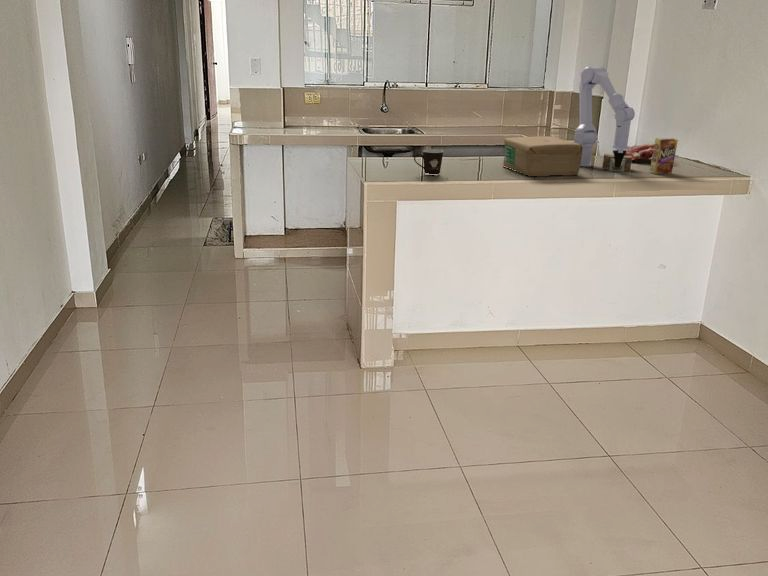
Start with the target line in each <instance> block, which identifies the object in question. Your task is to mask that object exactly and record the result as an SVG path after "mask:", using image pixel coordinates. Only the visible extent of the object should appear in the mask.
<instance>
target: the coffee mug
mask: <svg viewBox="0 0 768 576" xmlns="http://www.w3.org/2000/svg"><path fill="white" fill-rule="evenodd" d="M443 155H444V151H443V150H441V149H440V150H439V149H423V150H422V153H418V154H415V155H414V157H413V161H414V162H415V163H416V165H418V166H419V167H421V168H422V169H423V170H424V171H423V172H425V173H429V174H439V173H440V174H441V168H442V162H443ZM417 156H420V157H421V158H422V160H423V165H421V164H420V163H418V161H417V160H416V158H417ZM425 173H424V174H425Z"/></svg>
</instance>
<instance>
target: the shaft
mask: <svg viewBox="0 0 768 576" xmlns="http://www.w3.org/2000/svg"><path fill="white" fill-rule="evenodd" d="M622 167H623V162H622V163H621V166H620V167H615V160H613V162H612V168H613V169H614V170H620V169H622Z"/></svg>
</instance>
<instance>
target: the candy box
mask: <svg viewBox="0 0 768 576" xmlns="http://www.w3.org/2000/svg"><path fill="white" fill-rule="evenodd" d="M678 142H679V140H678V139H677V138H673V137H670V138H655V141H654V143H655V144H654V150H653V155H652V157H651V160H650V167H649V173H651V174H652V175H660V174H661V175H666V174H667V175H669V174H670V175H671V174H673V169H674V162H675V157H676V153H677V147H678Z"/></svg>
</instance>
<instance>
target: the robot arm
mask: <svg viewBox="0 0 768 576" xmlns="http://www.w3.org/2000/svg"><path fill="white" fill-rule="evenodd" d="M597 85H599V86H600V87H601V89H602V90H603V91H604V92H605V95H607V97H608V104H609V105H610V106H611V108H612V110H613V112H614V113H615V114H614V119H615V132H614V133H615V134H614V141H613V145H612V148H613V150H612V153H613V155H614V158H615V167H620V166H621V163H622V160H623V158H624V156H625V154H626V151H625V149H627V148H630V147H631V146H628V144H629V143H628V142H629V138H630V137H629V136H630V130H631V124H632V123H631V122H632V121H633V119H635V115H636V113H635V110H634V108H633V107H630V106H629V105H628V104H627V102H626V101H625V99H624V96H623V95H622V94H621V93H617V91H616V89H615V87H614V85H613V84H612V82H611V80H610V77H609V72H608V71H607V69H606V68H605V67H604V66H586V67H585V68H583V70H582V71H581V72H580V82H579V92H578V93H579V96H578V97H579V125H578V126H577V127H576V128H575V129H574V130H575V132H574V136H573V142H574V143H577V144H580V145H581V146H582V147H583V149H582V158H581V163H580V167H587V168H588V167H590V168H591V167H592V163H591V162H592V155H593V148H594V145H595V144H596V143H597V140H598V134H597V130H596V129H597V128H596V127H595V125H593V88H595V86H597ZM614 149H615V150H614Z"/></svg>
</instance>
